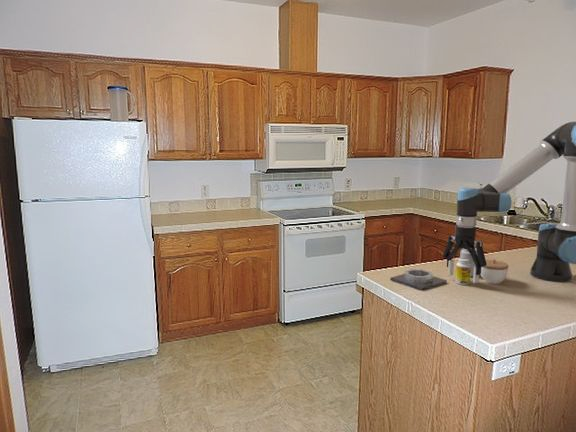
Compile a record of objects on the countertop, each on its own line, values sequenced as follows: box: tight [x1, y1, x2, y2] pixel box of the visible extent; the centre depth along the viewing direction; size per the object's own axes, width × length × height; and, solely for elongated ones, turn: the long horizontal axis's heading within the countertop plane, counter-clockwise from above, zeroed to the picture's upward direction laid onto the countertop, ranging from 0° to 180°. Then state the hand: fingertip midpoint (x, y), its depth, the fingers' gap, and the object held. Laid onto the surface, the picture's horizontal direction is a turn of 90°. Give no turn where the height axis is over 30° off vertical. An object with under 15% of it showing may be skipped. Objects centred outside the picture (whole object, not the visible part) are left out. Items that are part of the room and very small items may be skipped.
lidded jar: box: [480, 258, 509, 285], centre depth 175 cm, size 11×11×9 cm
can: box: [459, 247, 478, 278], centre depth 184 cm, size 8×8×12 cm
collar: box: [389, 268, 448, 292], centre depth 176 cm, size 16×16×4 cm
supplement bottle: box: [454, 257, 471, 286], centre depth 173 cm, size 6×6×10 cm
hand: (462, 278), depth 173 cm, fingers open, 11 cm apart
